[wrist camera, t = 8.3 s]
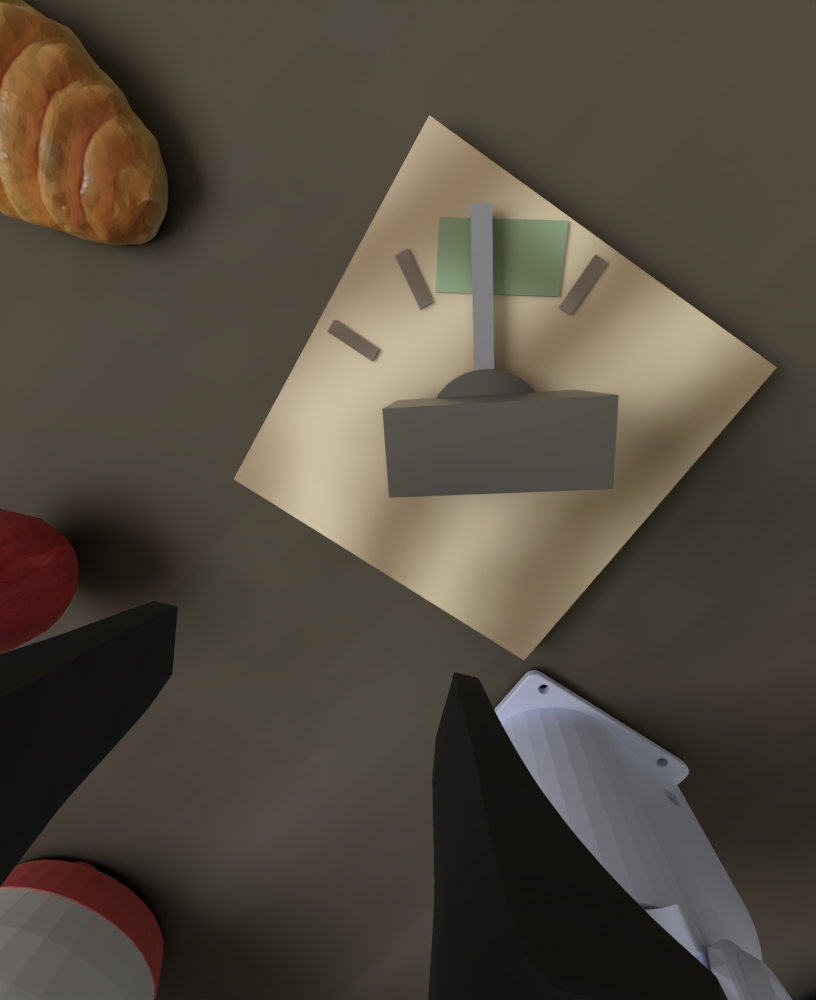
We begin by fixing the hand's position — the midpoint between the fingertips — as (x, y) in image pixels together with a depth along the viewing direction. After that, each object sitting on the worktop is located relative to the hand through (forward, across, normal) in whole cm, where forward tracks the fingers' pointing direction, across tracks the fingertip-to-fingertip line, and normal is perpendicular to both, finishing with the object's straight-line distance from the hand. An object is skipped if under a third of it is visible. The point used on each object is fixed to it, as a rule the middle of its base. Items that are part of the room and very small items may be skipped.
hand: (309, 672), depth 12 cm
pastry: (+10, +15, -13) cm, 23 cm away
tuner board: (+10, -4, -6) cm, 12 cm away
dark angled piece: (+8, -3, -9) cm, 12 cm away
